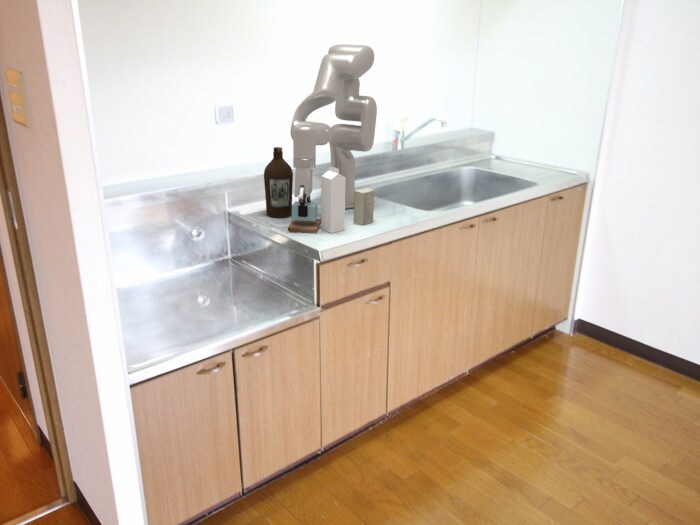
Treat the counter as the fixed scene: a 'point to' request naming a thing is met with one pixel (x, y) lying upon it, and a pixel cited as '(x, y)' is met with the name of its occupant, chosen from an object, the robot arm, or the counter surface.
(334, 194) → the milk
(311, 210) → the brick
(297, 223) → the board
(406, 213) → the counter surface
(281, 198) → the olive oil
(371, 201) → the skincare box
